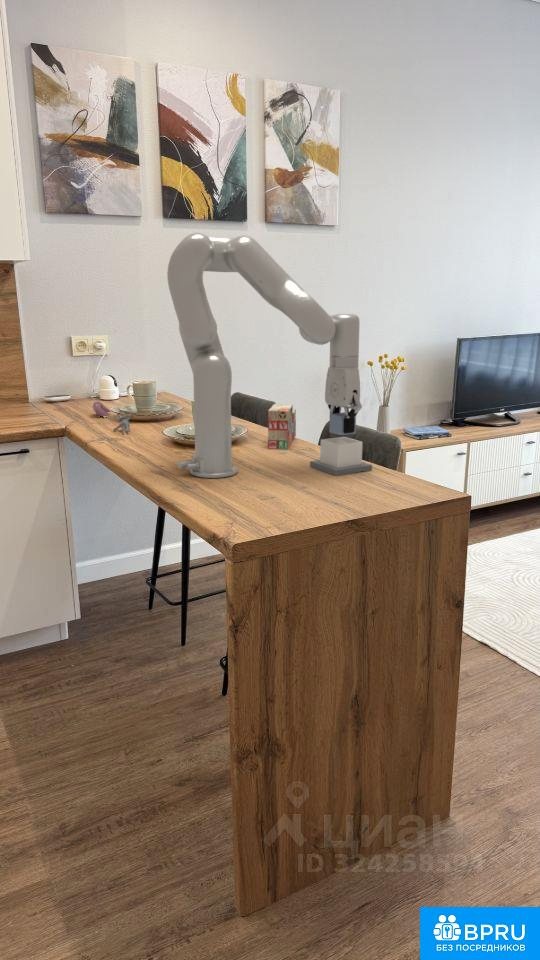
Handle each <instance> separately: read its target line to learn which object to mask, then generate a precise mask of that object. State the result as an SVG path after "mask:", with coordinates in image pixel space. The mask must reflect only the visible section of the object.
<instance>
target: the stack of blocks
mask: <svg viewBox="0 0 540 960" xmlns="http://www.w3.org/2000/svg"><path fill="white" fill-rule="evenodd" d="M293 406H294V405H293V403H292V404H291V403H290V404H288V403H287V404H286V403H285V404H284V403H282V404H281V403H274V404H272V406H271V407H270V408H269V409H268V411H267V413H268V414H267V415H268V417H267V419H268V420H267V431H268V435H267V436H268V437H267V449H268V450H283V451H285V450H286V451H287V450H289V449H290V447H291V445H292V443H293V442H294V440H295V438H296V436H297V434H296V433H297V431H296V429H297V424H296V423H297V419H296V414H297V412H296V410H297V409H296V408H295V409H293Z"/></svg>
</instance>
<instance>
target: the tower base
mask: <svg viewBox="0 0 540 960" xmlns="http://www.w3.org/2000/svg"><path fill="white" fill-rule="evenodd" d="M319 452H320V457H319V458H320V459H316V460H311V461H309V468H313V469H316V470H318V471H321V472H323V473H327V474H330V475H332V476H335V477H338V476H346V475H349V474H350V473H352V474H356V472H359V473H362V472H361V471H365V472H369V471H368V470H372V471H373V464H370V463H368V462H364V461H363V441H361V440H359V439H358V440H357V439H353V438H350V437H346V436H341V437H340V436H339V437H333V438H325V439H320V451H319ZM350 475H351V474H350Z"/></svg>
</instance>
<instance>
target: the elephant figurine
mask: <svg viewBox="0 0 540 960" xmlns="http://www.w3.org/2000/svg"><path fill="white" fill-rule="evenodd" d="M135 415H136V413H135V412H133V413H130V416H129V417H127V418H126V416H127V413H124V414H123V415H118V416H117V417H116V419H117V420H116V421H117V422H118V423H120V424H119V425H118V426H116V427H113V430H112V431H113V432H115V431H114V430H117V431H118V430H119V428H121V431H122V434H123V433H126V434H127V432H130V430H131V429H130V426H131V425H130V422H129V421H130V420H131V419H132V418H133V417H135Z"/></svg>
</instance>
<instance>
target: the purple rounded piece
mask: <svg viewBox="0 0 540 960" xmlns="http://www.w3.org/2000/svg"><path fill="white" fill-rule="evenodd" d="M92 409H93V411H94V413H95V414H96V415H98V417H99V416H108V417H109V414H108V413H107V412H110V413H111V410H110V408H108V407H106V406H105V405H104V404H103V403H102V402H101V401H98V400H97V401H95V402H93V404H92Z"/></svg>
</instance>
